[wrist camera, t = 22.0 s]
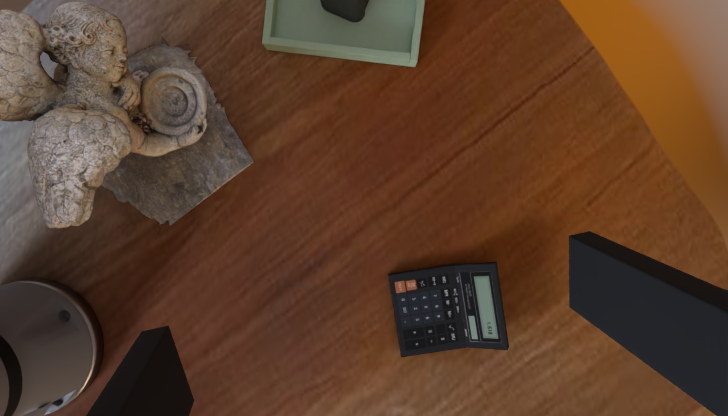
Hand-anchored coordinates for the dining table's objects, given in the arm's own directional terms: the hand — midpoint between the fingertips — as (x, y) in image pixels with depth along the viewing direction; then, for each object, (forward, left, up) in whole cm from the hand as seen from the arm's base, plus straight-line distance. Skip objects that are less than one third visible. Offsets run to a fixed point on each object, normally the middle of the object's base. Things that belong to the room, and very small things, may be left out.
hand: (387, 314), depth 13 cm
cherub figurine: (-25, +7, -32) cm, 41 cm away
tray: (-6, +25, -32) cm, 41 cm away
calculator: (+9, -8, -32) cm, 34 cm away
